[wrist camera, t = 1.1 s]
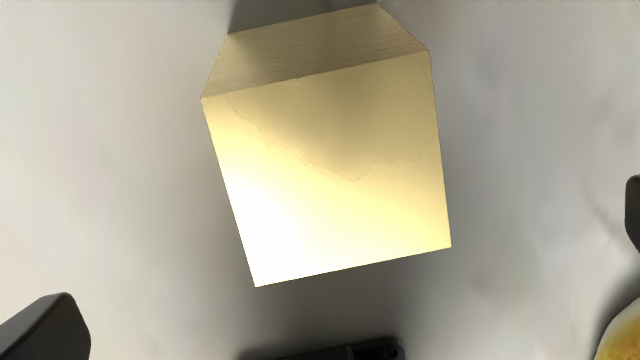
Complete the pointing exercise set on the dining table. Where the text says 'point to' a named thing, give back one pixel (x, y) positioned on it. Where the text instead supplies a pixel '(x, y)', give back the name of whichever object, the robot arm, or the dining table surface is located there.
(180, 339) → the dining table surface
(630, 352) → the bread roll
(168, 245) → the dining table surface
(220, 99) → the brass block
